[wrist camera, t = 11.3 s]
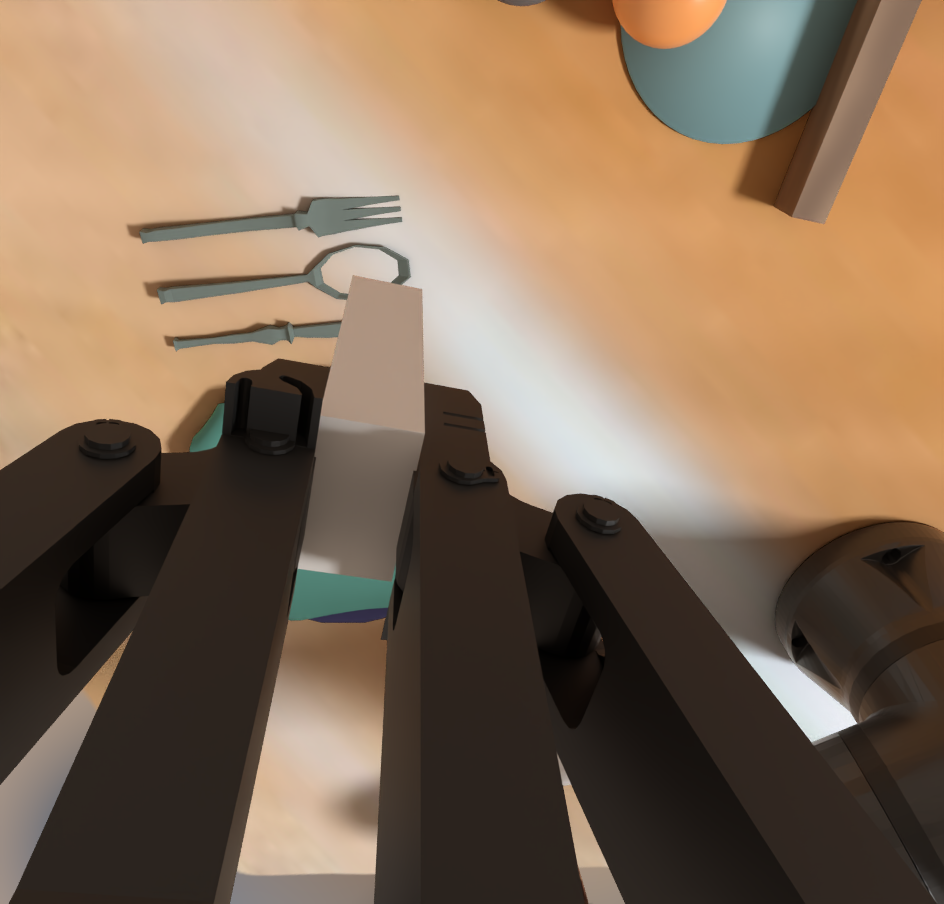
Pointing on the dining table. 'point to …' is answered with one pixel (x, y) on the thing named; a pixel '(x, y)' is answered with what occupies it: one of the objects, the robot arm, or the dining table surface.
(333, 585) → the cutlery set
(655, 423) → the dining table surface
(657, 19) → the orange ball
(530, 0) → the gray ball
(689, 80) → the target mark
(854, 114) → the stopper strip
